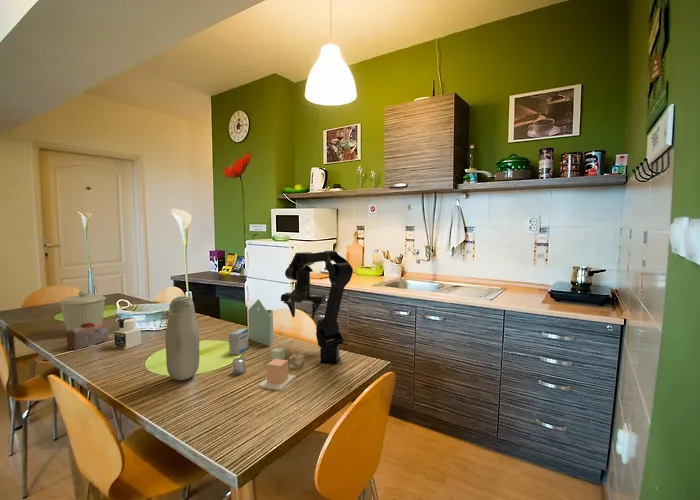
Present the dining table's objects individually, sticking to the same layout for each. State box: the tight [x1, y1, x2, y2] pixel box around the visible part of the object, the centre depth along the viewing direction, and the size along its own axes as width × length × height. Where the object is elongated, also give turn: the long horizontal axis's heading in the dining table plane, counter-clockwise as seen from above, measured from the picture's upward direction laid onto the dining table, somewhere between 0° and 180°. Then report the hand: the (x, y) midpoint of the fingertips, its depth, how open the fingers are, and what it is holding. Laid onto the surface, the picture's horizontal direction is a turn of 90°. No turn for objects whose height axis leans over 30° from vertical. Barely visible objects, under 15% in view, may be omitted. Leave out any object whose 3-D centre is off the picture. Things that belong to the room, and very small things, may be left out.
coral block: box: [266, 359, 289, 384], centre depth 112 cm, size 5×5×6 cm
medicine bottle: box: [114, 317, 142, 350], centre depth 147 cm, size 7×7×12 cm
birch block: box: [288, 353, 305, 370], centre depth 125 cm, size 4×4×4 cm
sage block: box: [270, 347, 286, 362], centre depth 132 cm, size 4×4×4 cm
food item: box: [66, 322, 109, 350], centre depth 148 cm, size 14×8×10 cm, turn 157°
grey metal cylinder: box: [232, 357, 247, 376], centre depth 120 cm, size 4×4×4 cm
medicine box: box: [228, 328, 249, 356], centre depth 141 cm, size 8×4×9 cm, turn 168°
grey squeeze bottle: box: [164, 296, 200, 381], centre depth 114 cm, size 10×10×28 cm
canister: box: [58, 289, 107, 334], centre depth 166 cm, size 18×18×21 cm
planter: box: [247, 298, 274, 347], centre depth 155 cm, size 16×8×20 cm, turn 49°
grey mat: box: [258, 373, 296, 391], centre depth 112 cm, size 8×10×1 cm
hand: (303, 318), depth 145 cm, fingers open, 9 cm apart
